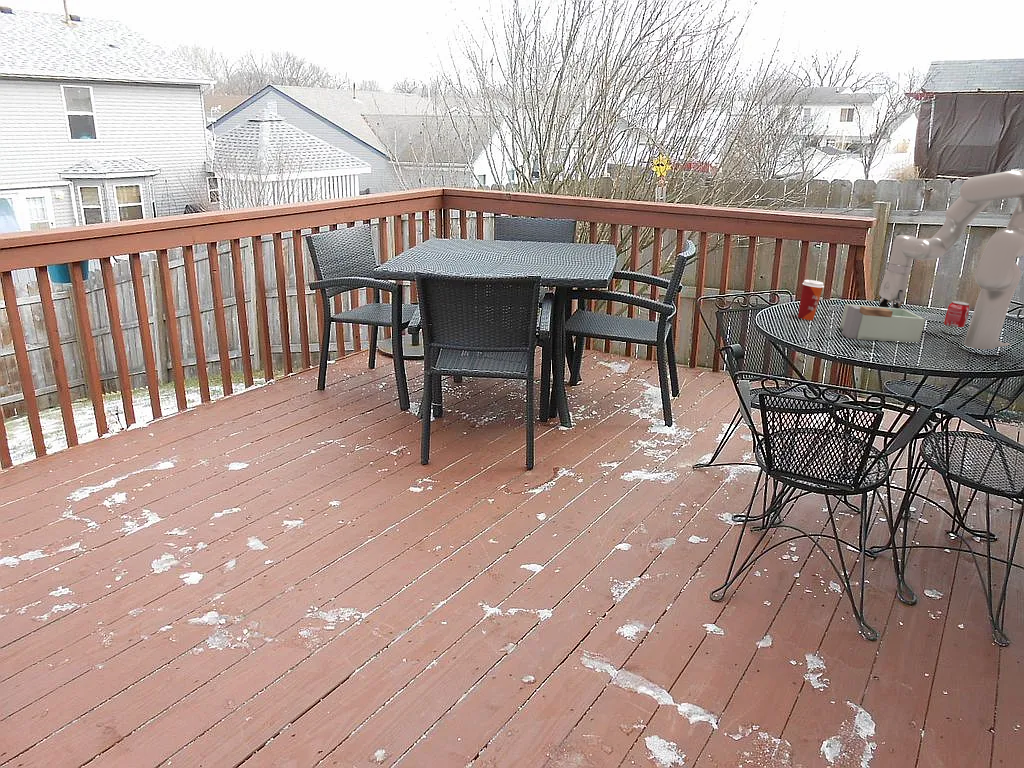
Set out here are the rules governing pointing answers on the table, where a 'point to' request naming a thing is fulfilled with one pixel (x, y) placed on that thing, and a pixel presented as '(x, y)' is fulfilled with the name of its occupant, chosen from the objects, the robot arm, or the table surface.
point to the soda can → (957, 314)
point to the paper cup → (810, 299)
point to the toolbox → (881, 325)
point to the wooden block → (876, 311)
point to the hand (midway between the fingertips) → (886, 316)
